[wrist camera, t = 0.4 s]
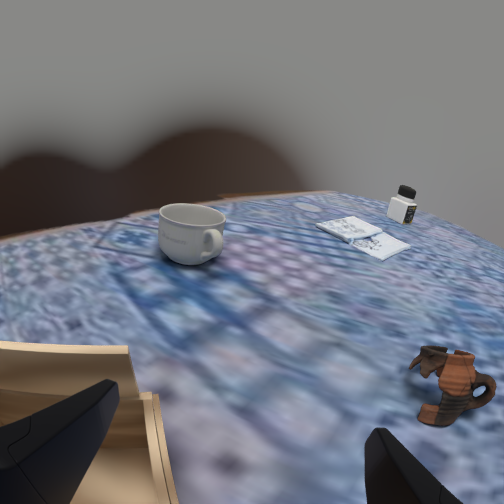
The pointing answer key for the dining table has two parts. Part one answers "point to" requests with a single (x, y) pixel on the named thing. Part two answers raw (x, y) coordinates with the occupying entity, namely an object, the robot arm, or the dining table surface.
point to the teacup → (190, 233)
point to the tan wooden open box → (114, 450)
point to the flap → (64, 368)
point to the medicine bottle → (402, 206)
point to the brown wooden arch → (452, 384)
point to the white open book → (357, 230)
